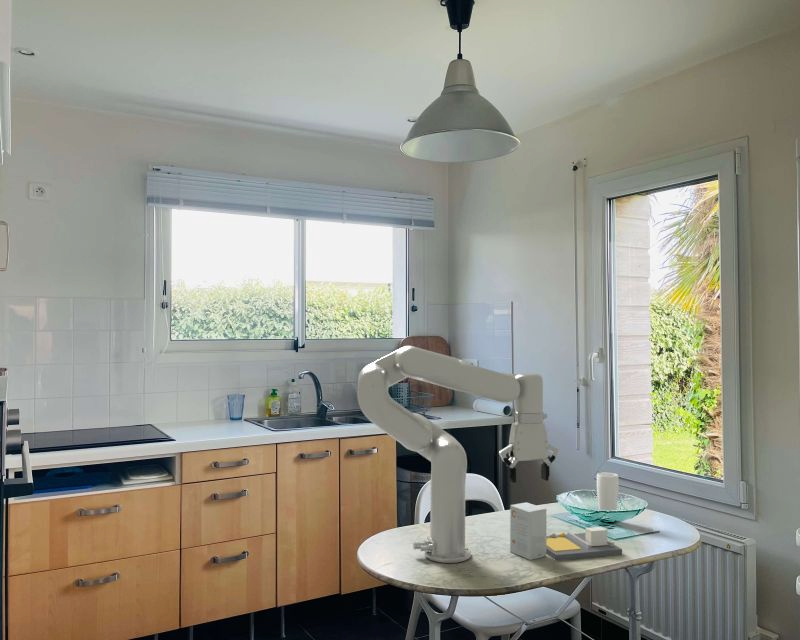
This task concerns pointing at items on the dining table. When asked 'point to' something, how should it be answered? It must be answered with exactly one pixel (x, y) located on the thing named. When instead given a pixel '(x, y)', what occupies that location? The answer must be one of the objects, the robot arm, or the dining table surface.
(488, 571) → the dining table surface
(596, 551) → the plate
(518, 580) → the dining table surface
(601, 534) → the lever
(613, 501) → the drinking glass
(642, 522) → the dining table surface
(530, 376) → the robot arm
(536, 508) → the small box
